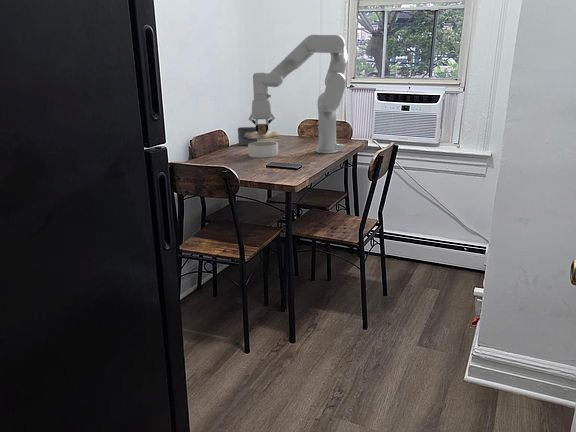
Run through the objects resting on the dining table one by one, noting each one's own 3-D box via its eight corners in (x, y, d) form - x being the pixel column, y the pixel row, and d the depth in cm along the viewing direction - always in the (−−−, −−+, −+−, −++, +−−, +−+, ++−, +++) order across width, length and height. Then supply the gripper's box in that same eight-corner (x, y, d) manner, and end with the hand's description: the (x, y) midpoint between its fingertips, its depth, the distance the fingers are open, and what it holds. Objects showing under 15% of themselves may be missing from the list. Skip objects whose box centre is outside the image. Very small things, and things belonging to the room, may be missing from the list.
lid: (279, 132, 284) (279, 121, 282) (280, 137, 266) (280, 126, 264) (245, 133, 283) (244, 122, 281) (244, 139, 265) (243, 127, 263)
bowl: (277, 151, 285) (277, 140, 283) (278, 157, 270) (278, 145, 268) (249, 152, 285) (248, 141, 283) (248, 158, 269) (247, 147, 268)
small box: (257, 144, 310) (256, 126, 307) (256, 146, 304) (255, 128, 301) (240, 144, 311) (239, 126, 308) (238, 146, 305) (237, 128, 302)
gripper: (276, 96, 272) (277, 130, 278) (245, 97, 271) (246, 131, 277) (277, 97, 265) (278, 132, 270) (244, 98, 264) (246, 133, 270)
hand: (262, 131), depth 274 cm, fingers closed on lid, 4 cm apart
